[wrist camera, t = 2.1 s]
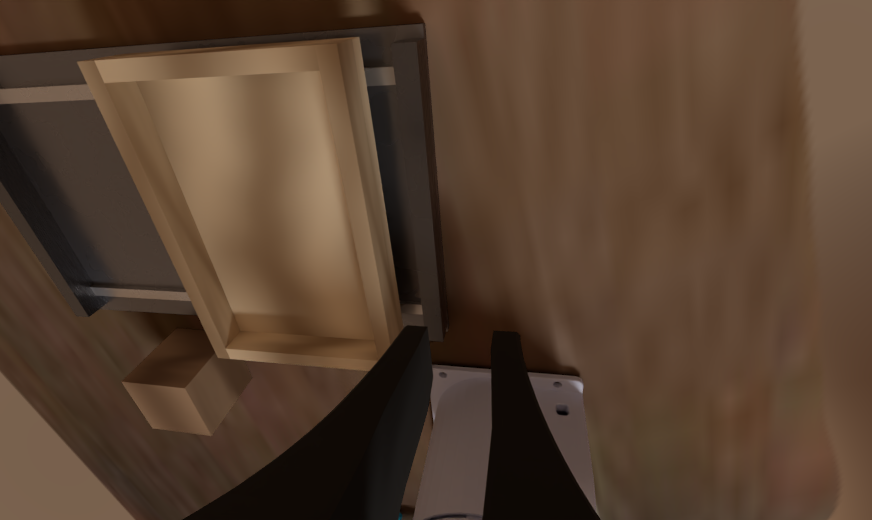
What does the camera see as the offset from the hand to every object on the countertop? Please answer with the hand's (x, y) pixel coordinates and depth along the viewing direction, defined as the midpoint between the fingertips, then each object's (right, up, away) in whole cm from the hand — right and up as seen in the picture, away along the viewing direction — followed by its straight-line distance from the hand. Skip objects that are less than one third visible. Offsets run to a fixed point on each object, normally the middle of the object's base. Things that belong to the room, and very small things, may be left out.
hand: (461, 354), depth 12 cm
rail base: (-13, +6, +12) cm, 18 cm away
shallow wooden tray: (-8, +5, +10) cm, 14 cm away
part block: (-17, -4, +19) cm, 26 cm away
